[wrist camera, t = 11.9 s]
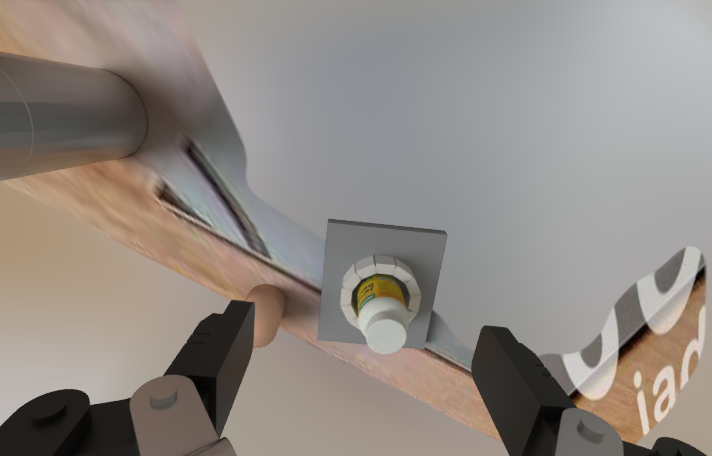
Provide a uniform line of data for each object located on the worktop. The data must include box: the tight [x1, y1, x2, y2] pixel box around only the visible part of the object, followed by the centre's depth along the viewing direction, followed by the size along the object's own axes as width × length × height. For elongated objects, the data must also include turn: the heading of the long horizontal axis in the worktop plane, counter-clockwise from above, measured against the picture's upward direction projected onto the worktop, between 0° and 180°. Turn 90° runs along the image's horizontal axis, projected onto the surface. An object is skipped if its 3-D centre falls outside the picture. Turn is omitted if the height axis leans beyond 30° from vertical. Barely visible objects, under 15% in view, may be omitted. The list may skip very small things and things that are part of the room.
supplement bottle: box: [357, 273, 409, 354], centre depth 38 cm, size 5×5×10 cm
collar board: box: [317, 219, 447, 349], centre depth 42 cm, size 14×16×4 cm
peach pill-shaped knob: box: [245, 284, 286, 348], centre depth 42 cm, size 5×5×6 cm
